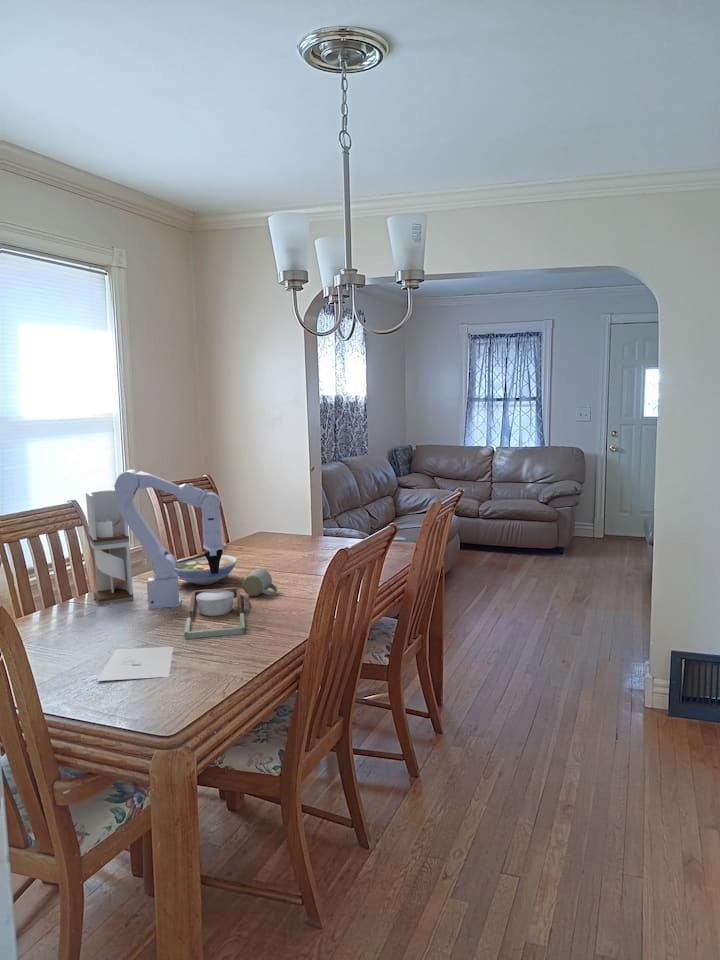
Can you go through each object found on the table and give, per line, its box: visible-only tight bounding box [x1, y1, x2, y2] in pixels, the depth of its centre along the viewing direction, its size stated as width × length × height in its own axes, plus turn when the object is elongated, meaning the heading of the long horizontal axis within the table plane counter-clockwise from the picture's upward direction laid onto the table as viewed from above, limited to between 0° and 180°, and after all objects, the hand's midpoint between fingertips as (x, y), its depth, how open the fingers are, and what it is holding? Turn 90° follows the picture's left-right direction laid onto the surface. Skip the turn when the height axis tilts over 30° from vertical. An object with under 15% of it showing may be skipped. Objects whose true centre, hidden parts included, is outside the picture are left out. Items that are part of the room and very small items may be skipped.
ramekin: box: [196, 590, 235, 617], centre depth 217 cm, size 11×11×5 cm
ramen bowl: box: [174, 553, 238, 586], centre depth 252 cm, size 25×23×8 cm
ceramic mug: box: [242, 568, 278, 597], centre depth 235 cm, size 11×8×8 cm
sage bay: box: [184, 612, 246, 640], centre depth 202 cm, size 16×14×2 cm
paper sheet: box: [96, 646, 174, 682], centre depth 177 cm, size 24×29×1 cm
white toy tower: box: [85, 489, 134, 606], centre depth 233 cm, size 11×11×35 cm
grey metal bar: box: [243, 597, 250, 614], centre depth 221 cm, size 1×12×1 cm, turn 8°
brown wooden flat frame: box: [188, 586, 243, 620], centre depth 223 cm, size 15×23×2 cm, turn 11°
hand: (214, 573), depth 228 cm, fingers closed
